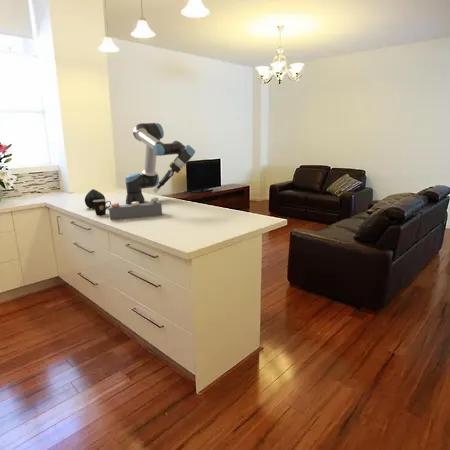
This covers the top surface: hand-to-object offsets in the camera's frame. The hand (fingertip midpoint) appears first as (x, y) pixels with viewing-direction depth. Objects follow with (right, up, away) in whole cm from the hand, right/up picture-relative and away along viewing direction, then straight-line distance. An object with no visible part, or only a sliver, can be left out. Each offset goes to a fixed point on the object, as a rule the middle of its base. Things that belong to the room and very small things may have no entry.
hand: (154, 191), depth 230 cm
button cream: (-12, -11, 0) cm, 16 cm away
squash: (-53, -9, +36) cm, 65 cm away
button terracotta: (-25, -12, -3) cm, 28 cm away
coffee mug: (-39, -15, +13) cm, 44 cm away
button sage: (0, -9, +2) cm, 9 cm away
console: (-12, -17, +1) cm, 21 cm away
